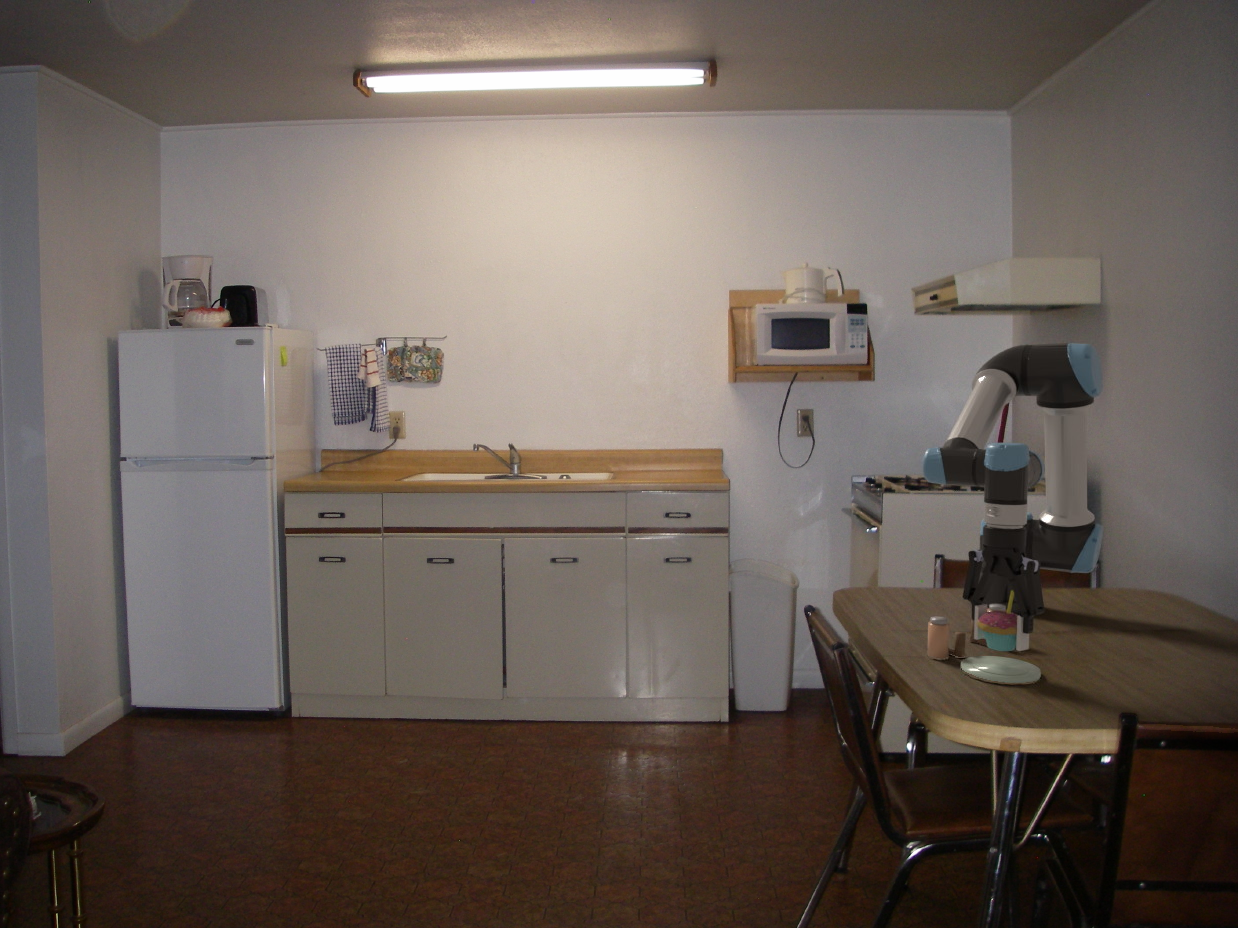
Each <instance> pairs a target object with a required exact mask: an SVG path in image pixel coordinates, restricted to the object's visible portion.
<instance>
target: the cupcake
mask: <svg viewBox="0 0 1238 928" xmlns="http://www.w3.org/2000/svg"><path fill="white" fill-rule="evenodd" d="M1013 597H1014V591H1013V590H1011V593H1010V598H1009V603H1008V608H1007V611H1006V610H1001V611H1000V610H999V611H997V610H996V611H990V612H986V613H985V614H983V615H981V616H980V617H979V618H978V621H977V627H978V628H980V629H981V630H982V631H983V633H984V636H985V638H984V639H986V642H987V646H986V647H988V648H989V649H990V650H994V651H999V652H1011V651H1014V650H1016V643H1017V616H1019V614H1014V613H1011V607H1012V602H1013Z"/></svg>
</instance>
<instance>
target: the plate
mask: <svg viewBox="0 0 1238 928" xmlns="http://www.w3.org/2000/svg"><path fill="white" fill-rule="evenodd" d="M961 668H962V670H964V671H965V672H967V673H969V674H972V675H974V676H976V677H979V678H983V679H987V680H991V681H998V682H1005V683H1026V682H1033V681H1037V680H1039V679H1040V677H1041V675H1042V673H1041V669H1040V667H1038V666H1037V665H1034V664H1032V663H1030V662H1028V661H1024V660H1021V659H1017V658H1011V657H1007V656H1006V657H1004V656H997V655H996V656H995V655H977V656H971V657H966V658H965V659H961V662H960V669H961ZM1040 680H1041V679H1040ZM1040 680H1039V681H1040Z"/></svg>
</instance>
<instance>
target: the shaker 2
mask: <svg viewBox="0 0 1238 928" xmlns="http://www.w3.org/2000/svg"><path fill="white" fill-rule="evenodd" d="M996 610H997V611H999V610H1000V611H1001V610H1006V606H1005V605H1002V604H990V605H989V608H988V609H987V612H990V611H996ZM1006 611H1007V610H1006Z"/></svg>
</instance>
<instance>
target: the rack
mask: <svg viewBox="0 0 1238 928" xmlns="http://www.w3.org/2000/svg"><path fill="white" fill-rule="evenodd" d="M974 623H975V621H973V620H972V618H971V622H970V624H971V625H970V637H969V642H970V641H971V642H970V643H972V642H975V643H974V644H977V643H979V644H978V645H981V644H983V645H982V646H985V645H987V642H986V639H985V638H983V639H979V640H976V639H974ZM966 637H967V636H966V632H963V631H955V632H954V649H952V648H949V654H952V655H955V656H958V657H964V656H966V657H967V653H966Z"/></svg>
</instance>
